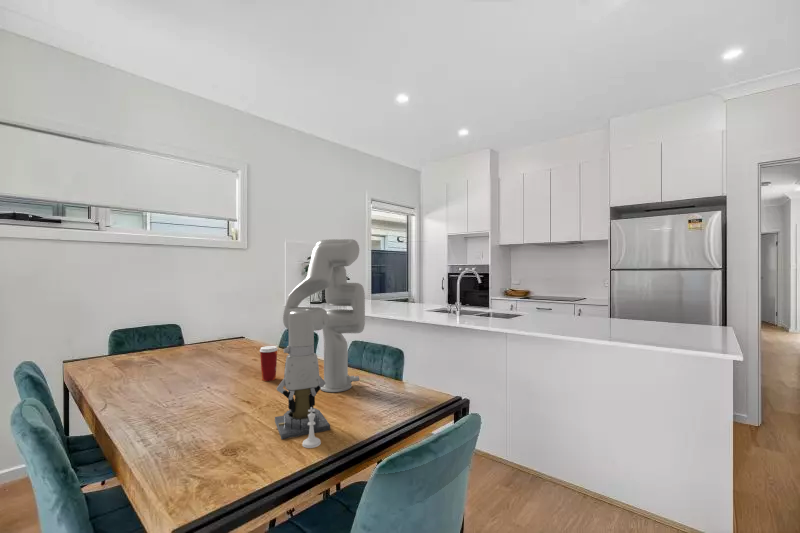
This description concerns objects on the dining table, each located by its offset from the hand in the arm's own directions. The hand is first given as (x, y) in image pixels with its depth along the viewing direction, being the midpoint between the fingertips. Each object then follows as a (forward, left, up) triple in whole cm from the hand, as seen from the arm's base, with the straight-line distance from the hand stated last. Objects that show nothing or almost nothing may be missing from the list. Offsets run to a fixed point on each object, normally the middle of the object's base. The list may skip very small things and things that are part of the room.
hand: (301, 409), depth 117 cm
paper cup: (+3, -57, -5) cm, 57 cm away
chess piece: (0, +14, -5) cm, 15 cm away
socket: (0, 0, -5) cm, 5 cm away
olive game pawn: (0, 0, -4) cm, 4 cm away
